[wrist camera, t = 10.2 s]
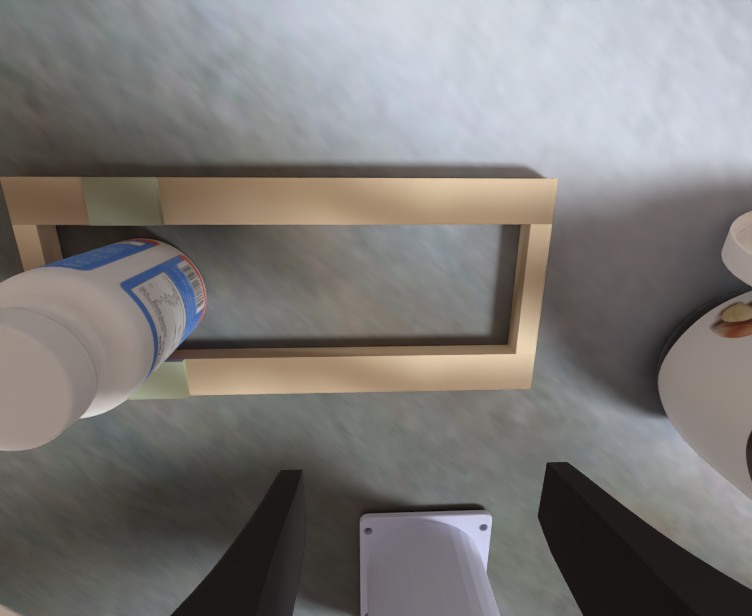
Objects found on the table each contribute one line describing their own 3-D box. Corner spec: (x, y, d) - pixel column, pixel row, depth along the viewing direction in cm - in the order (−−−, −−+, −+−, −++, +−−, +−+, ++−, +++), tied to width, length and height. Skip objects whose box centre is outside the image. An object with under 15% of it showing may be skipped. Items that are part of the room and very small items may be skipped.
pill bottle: (80, 310, 21) (-143, 421, 11) (120, 215, 19) (-97, 253, 10) (185, 360, 22) (58, 498, 13) (229, 273, 20) (123, 355, 11)
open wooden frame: (521, 378, 23) (532, 391, 22) (72, 386, 22) (53, 400, 20) (546, 178, 20) (561, 178, 18) (21, 176, 19) (-7, 176, 17)
